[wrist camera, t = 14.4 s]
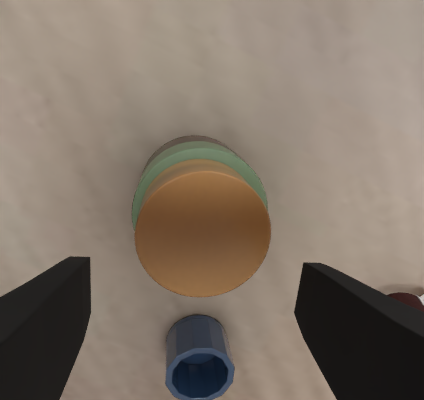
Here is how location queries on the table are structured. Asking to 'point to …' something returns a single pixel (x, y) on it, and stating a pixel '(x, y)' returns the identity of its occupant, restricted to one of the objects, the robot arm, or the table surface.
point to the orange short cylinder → (201, 229)
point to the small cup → (198, 359)
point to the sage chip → (187, 153)
